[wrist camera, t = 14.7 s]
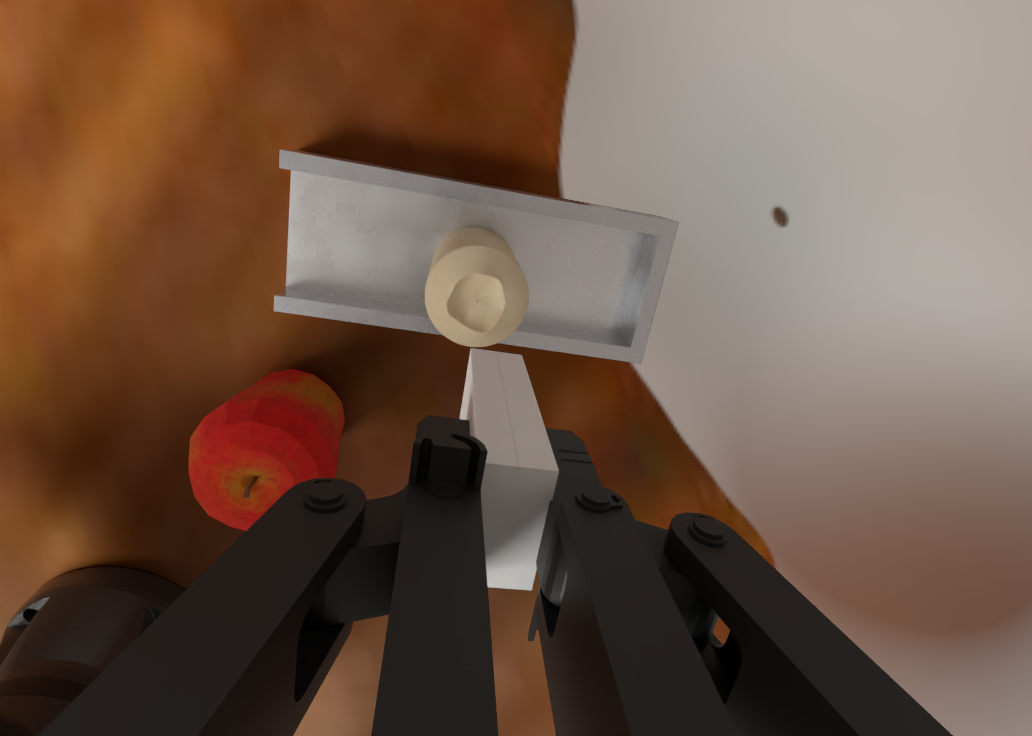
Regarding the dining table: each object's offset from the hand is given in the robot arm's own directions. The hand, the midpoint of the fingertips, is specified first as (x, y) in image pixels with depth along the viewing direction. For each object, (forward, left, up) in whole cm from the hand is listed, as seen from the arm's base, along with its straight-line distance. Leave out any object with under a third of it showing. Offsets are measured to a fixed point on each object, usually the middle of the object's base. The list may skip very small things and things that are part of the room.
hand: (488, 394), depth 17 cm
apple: (-11, -13, -24) cm, 29 cm away
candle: (0, 0, -23) cm, 23 cm away
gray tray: (0, 0, -24) cm, 24 cm away
